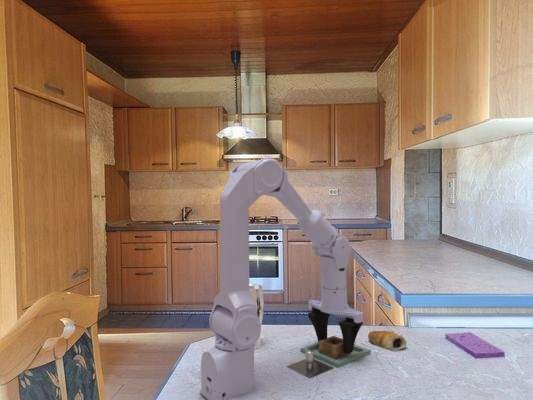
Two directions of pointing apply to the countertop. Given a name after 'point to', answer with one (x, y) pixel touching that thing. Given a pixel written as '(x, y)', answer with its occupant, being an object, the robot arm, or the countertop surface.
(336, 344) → the collar
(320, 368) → the grey peg base
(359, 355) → the tray
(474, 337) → the sponges
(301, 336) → the countertop surface
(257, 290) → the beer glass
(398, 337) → the pastry
